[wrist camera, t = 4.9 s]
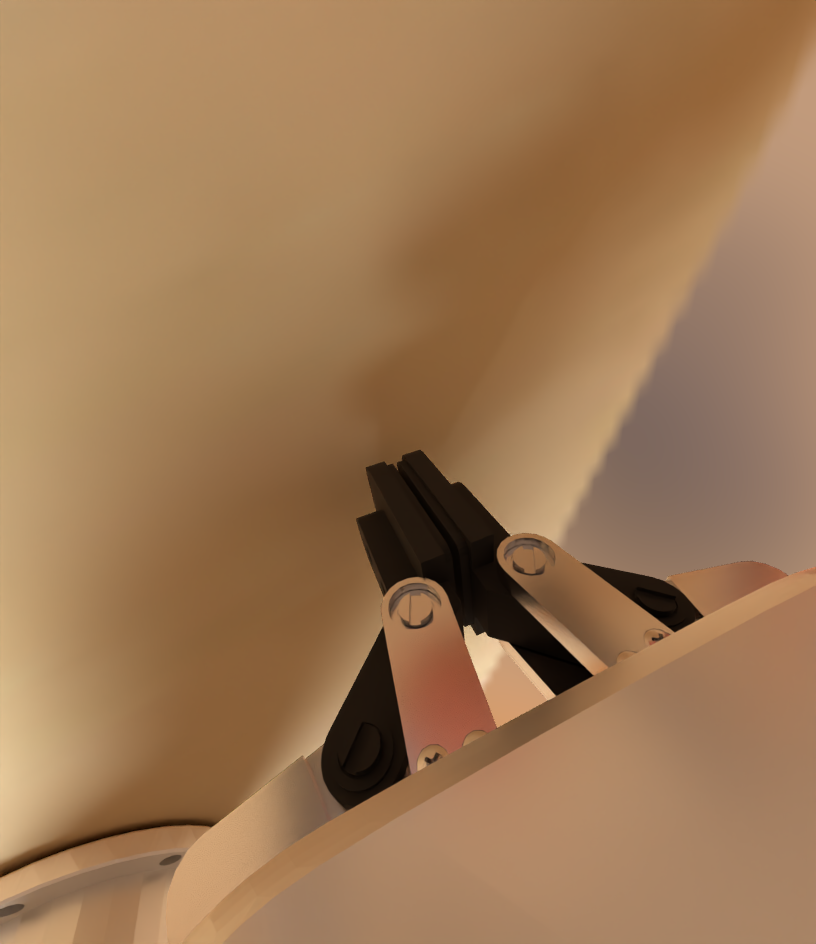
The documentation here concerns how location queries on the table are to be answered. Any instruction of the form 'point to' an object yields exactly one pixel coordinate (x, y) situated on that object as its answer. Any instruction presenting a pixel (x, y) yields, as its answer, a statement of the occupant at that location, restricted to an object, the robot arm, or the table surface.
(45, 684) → the table surface
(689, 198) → the table surface
